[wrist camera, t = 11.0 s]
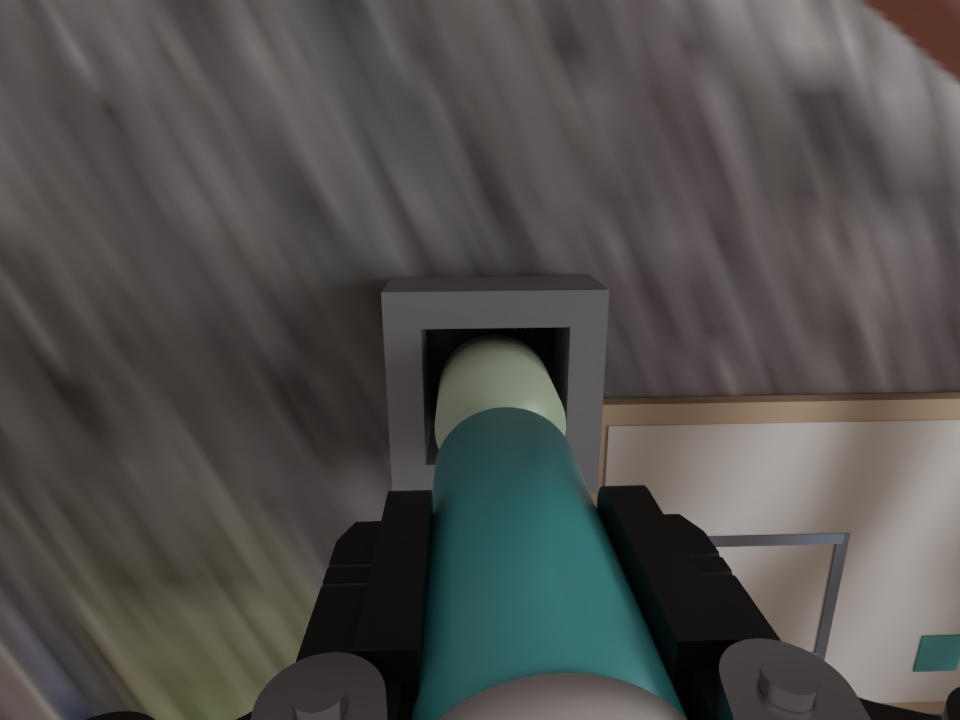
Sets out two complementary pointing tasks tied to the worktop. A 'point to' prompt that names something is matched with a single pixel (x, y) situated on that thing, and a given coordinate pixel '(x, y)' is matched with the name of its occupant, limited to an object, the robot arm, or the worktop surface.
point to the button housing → (492, 304)
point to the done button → (494, 383)
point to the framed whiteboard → (820, 519)
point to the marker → (529, 588)
